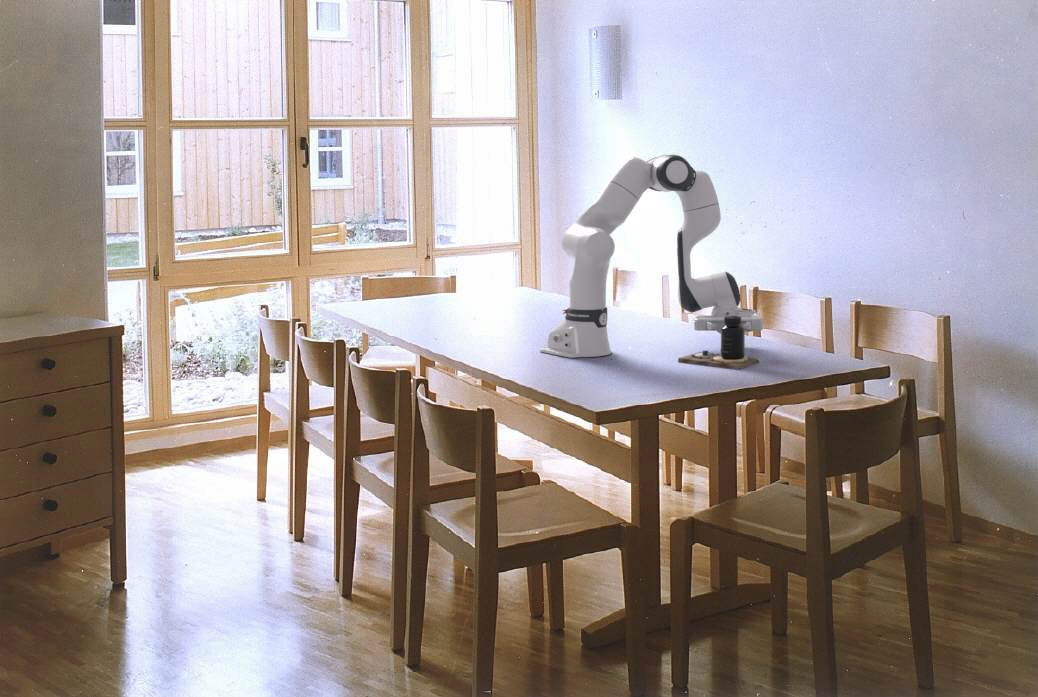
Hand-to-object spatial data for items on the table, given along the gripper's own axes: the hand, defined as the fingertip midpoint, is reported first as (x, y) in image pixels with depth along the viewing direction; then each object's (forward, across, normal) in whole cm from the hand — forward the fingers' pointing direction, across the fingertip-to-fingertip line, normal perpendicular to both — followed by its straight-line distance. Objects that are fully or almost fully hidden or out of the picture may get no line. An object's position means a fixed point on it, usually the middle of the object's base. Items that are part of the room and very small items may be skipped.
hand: (729, 327), depth 355 cm
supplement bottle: (+5, +1, +8) cm, 10 cm away
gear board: (+3, -3, +10) cm, 11 cm away
